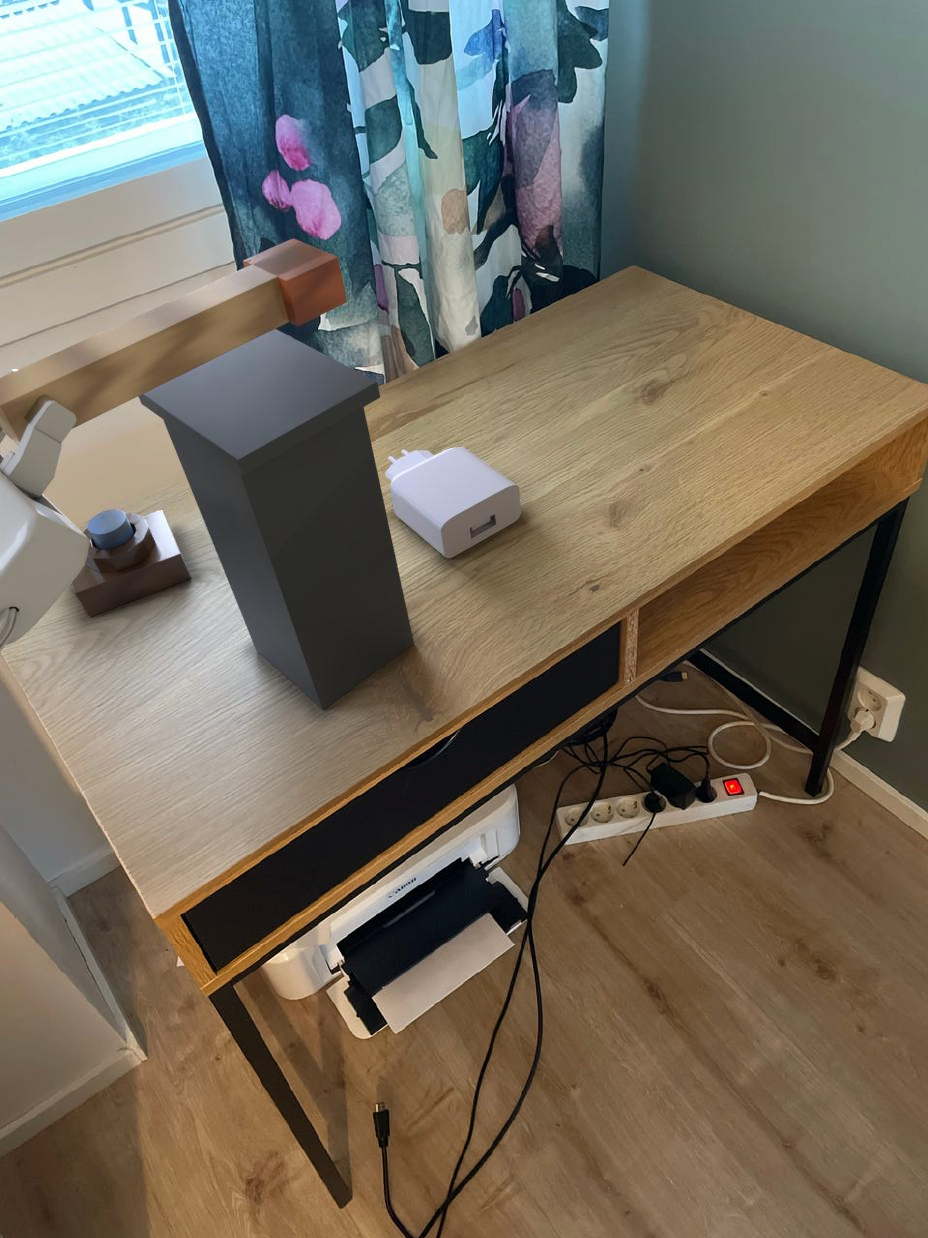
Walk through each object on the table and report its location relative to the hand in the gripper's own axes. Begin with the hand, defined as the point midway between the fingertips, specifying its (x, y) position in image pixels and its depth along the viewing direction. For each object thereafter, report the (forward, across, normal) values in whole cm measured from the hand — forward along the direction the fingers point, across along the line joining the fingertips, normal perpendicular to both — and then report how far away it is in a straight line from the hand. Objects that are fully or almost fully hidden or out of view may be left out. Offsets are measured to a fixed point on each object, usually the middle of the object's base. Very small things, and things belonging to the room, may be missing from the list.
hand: (44, 390), depth 50 cm
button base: (-12, +24, +30) cm, 40 cm away
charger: (+11, +8, +44) cm, 46 cm away
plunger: (-9, +24, +26) cm, 36 cm away
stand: (-5, 0, +34) cm, 34 cm away
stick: (+6, 0, +6) cm, 8 cm away
